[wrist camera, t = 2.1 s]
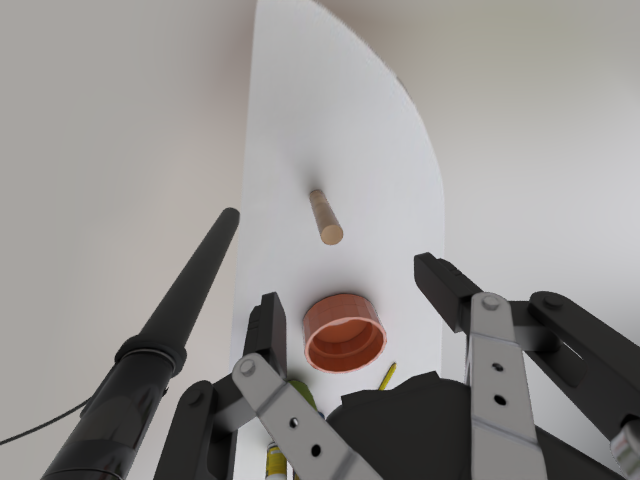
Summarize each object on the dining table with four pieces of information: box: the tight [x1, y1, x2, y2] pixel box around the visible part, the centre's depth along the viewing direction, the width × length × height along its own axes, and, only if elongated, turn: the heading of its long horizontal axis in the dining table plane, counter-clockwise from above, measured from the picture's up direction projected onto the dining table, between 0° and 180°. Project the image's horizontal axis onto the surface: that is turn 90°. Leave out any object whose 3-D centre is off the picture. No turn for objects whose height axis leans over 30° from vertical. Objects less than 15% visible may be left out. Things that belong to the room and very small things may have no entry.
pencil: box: [379, 363, 396, 390], centre depth 56 cm, size 16×1×1 cm, turn 167°
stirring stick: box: [309, 190, 343, 245], centre depth 27 cm, size 2×2×12 cm
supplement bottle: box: [265, 443, 287, 480], centre depth 60 cm, size 5×5×10 cm
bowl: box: [302, 294, 387, 374], centre depth 42 cm, size 14×14×6 cm
